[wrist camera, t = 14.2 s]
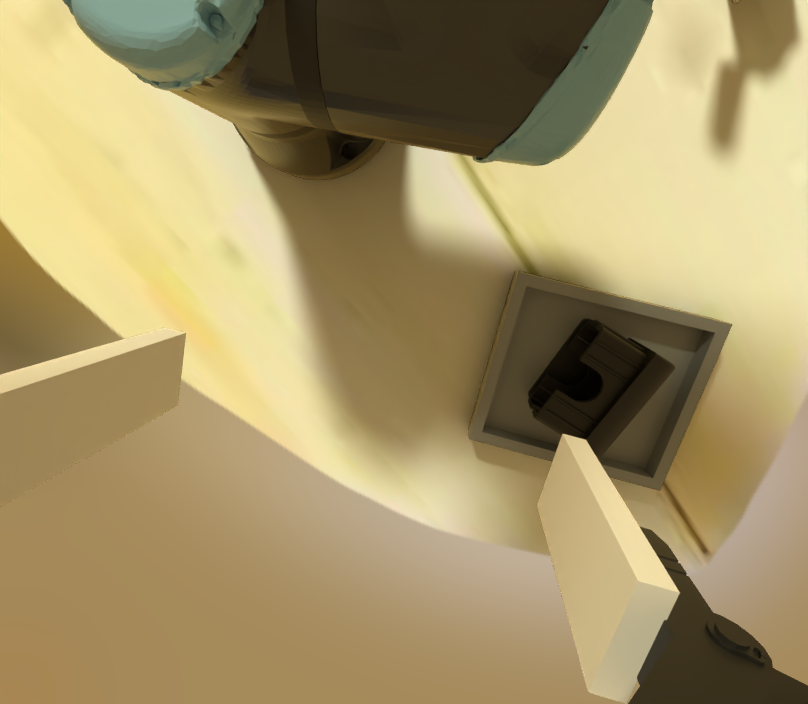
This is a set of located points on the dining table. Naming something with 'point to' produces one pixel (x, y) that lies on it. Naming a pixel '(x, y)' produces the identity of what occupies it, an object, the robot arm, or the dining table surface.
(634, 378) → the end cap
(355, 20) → the robot arm
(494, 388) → the seat tray
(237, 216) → the dining table surface
